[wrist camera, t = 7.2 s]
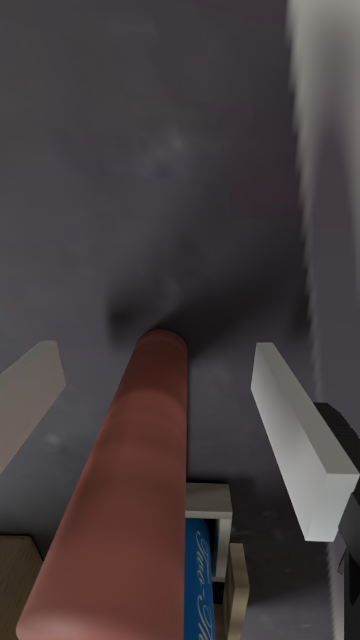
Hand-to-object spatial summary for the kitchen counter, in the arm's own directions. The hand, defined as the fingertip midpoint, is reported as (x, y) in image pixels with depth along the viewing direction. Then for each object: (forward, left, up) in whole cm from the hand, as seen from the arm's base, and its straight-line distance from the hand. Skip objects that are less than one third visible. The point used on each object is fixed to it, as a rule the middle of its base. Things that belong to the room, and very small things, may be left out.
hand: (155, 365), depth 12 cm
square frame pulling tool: (+11, 0, -2) cm, 11 cm away
